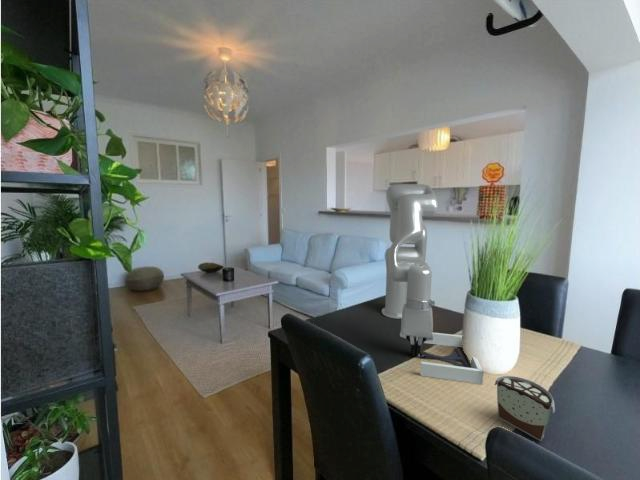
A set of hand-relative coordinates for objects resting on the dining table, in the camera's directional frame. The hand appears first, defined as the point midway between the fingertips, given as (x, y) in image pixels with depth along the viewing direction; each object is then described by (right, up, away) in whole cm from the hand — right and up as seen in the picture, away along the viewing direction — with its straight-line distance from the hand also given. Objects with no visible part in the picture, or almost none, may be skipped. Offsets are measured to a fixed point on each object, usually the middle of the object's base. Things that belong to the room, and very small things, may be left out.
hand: (415, 354), depth 105 cm
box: (+9, -1, -2) cm, 9 cm away
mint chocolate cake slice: (+17, -5, -31) cm, 35 cm away
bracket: (+9, -2, -2) cm, 9 cm away
